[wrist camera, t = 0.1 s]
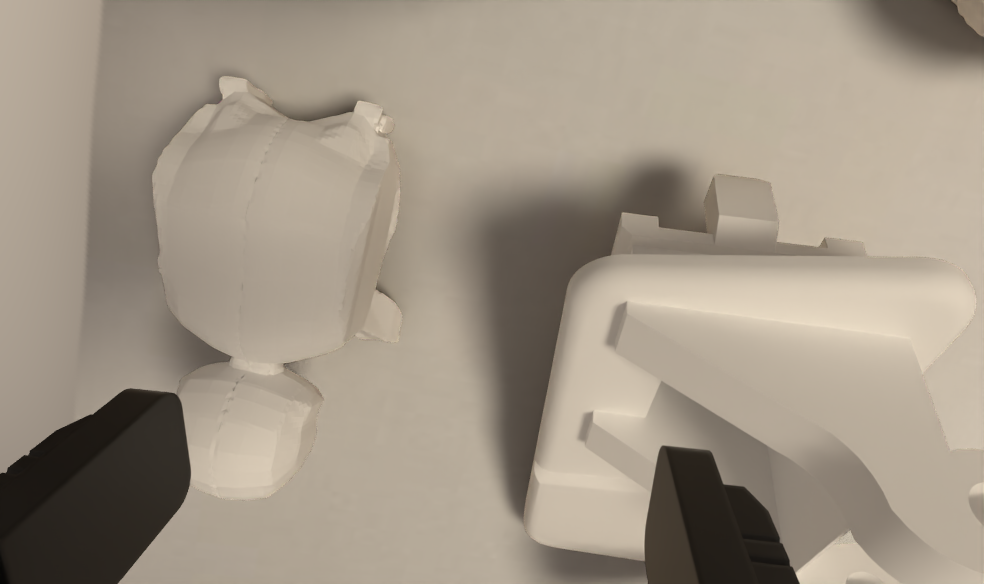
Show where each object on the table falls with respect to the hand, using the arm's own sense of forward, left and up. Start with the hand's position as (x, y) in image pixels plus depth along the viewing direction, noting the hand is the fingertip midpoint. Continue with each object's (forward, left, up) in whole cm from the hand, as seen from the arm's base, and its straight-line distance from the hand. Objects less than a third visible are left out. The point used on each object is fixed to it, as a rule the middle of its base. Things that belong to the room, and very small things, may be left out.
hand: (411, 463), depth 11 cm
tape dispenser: (+8, +8, -17) cm, 21 cm away
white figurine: (+3, -8, -17) cm, 19 cm away
